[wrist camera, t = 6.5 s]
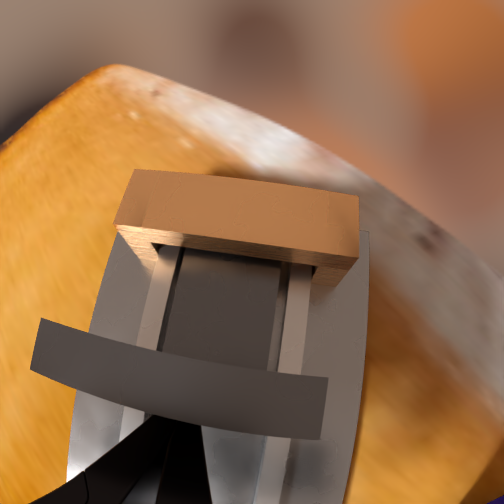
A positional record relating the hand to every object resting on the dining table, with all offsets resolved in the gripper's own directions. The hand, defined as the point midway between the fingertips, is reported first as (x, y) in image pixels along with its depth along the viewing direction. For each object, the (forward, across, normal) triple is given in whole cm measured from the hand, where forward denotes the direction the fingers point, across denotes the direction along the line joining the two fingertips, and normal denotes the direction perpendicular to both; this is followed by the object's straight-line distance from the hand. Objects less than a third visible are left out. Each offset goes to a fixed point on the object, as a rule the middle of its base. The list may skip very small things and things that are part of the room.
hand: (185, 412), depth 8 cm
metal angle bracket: (+8, 0, 0) cm, 8 cm away
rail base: (+6, 0, +5) cm, 7 cm away
